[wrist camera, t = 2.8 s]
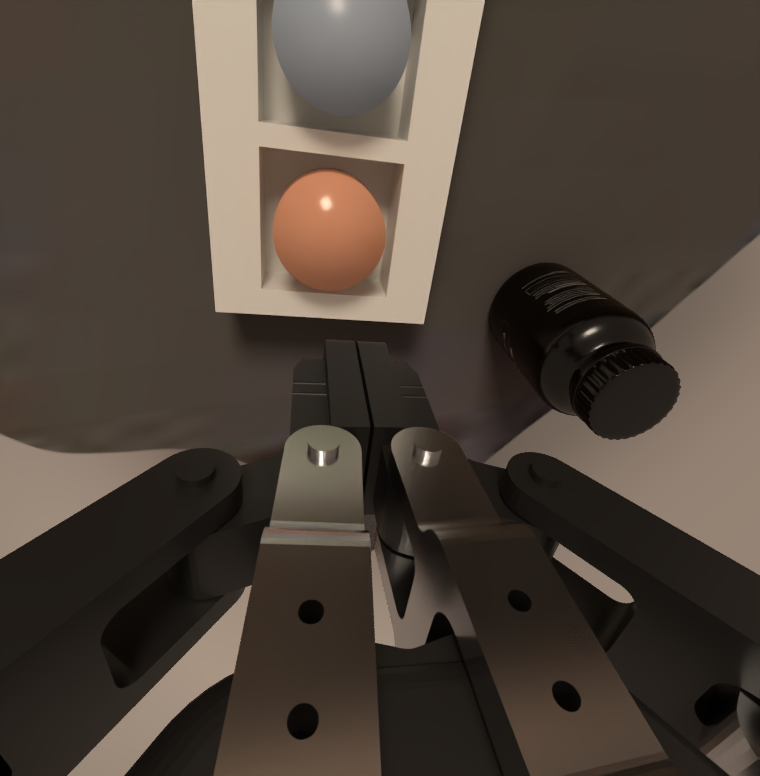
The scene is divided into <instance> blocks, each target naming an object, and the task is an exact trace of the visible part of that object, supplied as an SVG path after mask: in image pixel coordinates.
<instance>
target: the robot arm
mask: <svg viewBox="0 0 760 776" xmlns="http://www.w3.org/2000/svg"><path fill="white" fill-rule="evenodd" d="M364 514H375V517H376V523H377V527H376V533H375V539H374V548H375V552H376V556H377V561H378V565H379V569H380V574H381V578H382V582H383V586H384V590H385V595H386V599H387V604H388V608H389V612H390V617H391V621H392V625H393V631H394V638H395V647H393V646H388V645H383V644H378V643H375V631H374V610H373V590H372V589H373V588H372V568H371V546H370V535H369V531H368V530H364ZM559 543H560V544H561V545H563V546H564V547H566V548H567V549H569V550H570V551H572V552H573V553H575V554H576V555H577V556H579V557H580V558H582V559H583V560H585V561H586V562H588V563H589V564H591V565H592V566H594V567H595V568H596V569H598V570H600V571H601V572H602V573H604V574H605V575H607V576H608V577H610V578H611V579H612V580H614V581H615V582H617V583H618V584H620V585H621V586H622V587H624V588H625V589H626V590H627V591H628V592H629V593H630V594H631V596H632V597H633V599H634V602H632V603H621V602H618V601H615V600H613V599H612V598H610V597H609V596H607V595H606V594H604V593H603V592H601V591H600V590H599V589H597V588H596V587H594V586H593V585H591V584H590V583H589V582H587V581H586V580H584V579H583V578H582V577H580V576H579V575H577V574H576V573H575V572H573V571H572V570H570V569H569V568H567V567H566V566H565V565H563V564H562V563H560V562H559V561H558V560H556V559H555V558H553V555H554V553H555V551H556V549H557V547H558V545H559ZM250 585H252V587H251V592H250V597H249V601H248V607H247V612H246V616H245V621H244V627H243V632H242V636H241V642H240V646H239V651H238V656H237V661H236V666H235V671H234V673H233V674H232V675H229V676H227V677H225V678H224V679H222V680H221V681H219V682H218V683H216V684H214V685H213V686H211V687H210V688H208V689H207V690H205V691H204V692H203V693H202V694H200V695H199V696H198V697H197V698H195V699H194V700H193V701H191V702H190V703H189V704H188V705H187V706H186V707H185V708H184V709H183V710H182V711H181V712H180V713H179V714H178V715H177V716H176V717H174V719H172V720H171V722H170V723H169V724H168V725H167V726H166V727H165V728H164V729H163V731H162V732H161V733H160V734H159V735H158V736H157V738H156V739H155V740H154V741H153V742H152V743H151V745H150V746H149V747H148V748H147V749H146V751H145V752H144V753H143V754H142V755H141V757H140V758H139V759H138V760H137V761H136V763H135V764H134V765H133V766H132V767H131V769H130V770H129V771H128V772H127V773H126V774H125V776H760V575H758V574H756V573H755V572H753V571H751V570H749V569H748V568H746V567H744V566H742V565H741V564H739V563H737V562H736V561H734V560H732V559H730V558H729V557H727V556H725V555H723V554H722V553H720V552H718V551H716V550H715V549H713V548H711V547H709V546H708V545H706V544H704V543H703V542H701V541H699V540H697V539H696V538H694V537H692V536H690V535H688V534H687V533H685V532H683V531H682V530H680V529H678V528H676V527H675V526H673V525H671V524H669V523H668V522H666V521H664V520H663V519H661V518H659V517H657V516H656V515H654V514H652V513H650V512H649V511H647V510H645V509H643V508H642V507H640V506H638V505H636V504H635V503H633V502H631V501H629V500H628V499H626V498H624V497H622V496H621V495H619V494H617V493H616V492H614V491H612V490H610V489H609V488H607V487H605V486H603V485H602V484H600V483H598V482H596V481H595V480H593V479H591V478H590V477H588V476H586V475H584V474H582V473H581V472H579V471H577V470H576V469H574V468H572V467H570V466H569V465H567V464H565V463H563V462H561V461H560V460H558V459H556V458H553V457H551V456H548V455H545V454H541V453H534V452H525V453H520V454H517V455H515V456H513V457H512V458H511V459H510V461H509V462H508V465H507V467H506V469H504V468H499V467H495V466H491V465H487V464H483V463H479V462H475V461H472V460H470V459H467V457H466V455H465V454H464V452H463V450H462V448H461V446H460V445H459V444H458V442H457V441H456V440H455V439H453V438H452V437H451V436H449V435H447V434H446V433H444V432H441V431H440V430H439V427H438V425H437V422H436V420H435V417H434V414H433V412H432V409H431V407H430V404H429V402H428V399H427V398H426V394H425V391H424V389H423V388H422V384H421V381H420V378H419V376H418V373H416V372H415V371H414V370H413V369H412V368H411V367H410V366H409V365H408V364H406V363H405V362H392V361H391V357H390V354H389V351H388V348H387V345H386V343H385V342H366V341H356V344H355V341H345V340H325V344H324V357H323V359H312V358H303V359H302V360H301V361H300V362H299V363H298V364H297V366H296V367H295V368H294V373H293V390H292V408H291V426H290V437H289V438H288V439H287V441H286V444H285V447H284V448H283V449H282V450H281V451H279V452H278V453H277V454H275V455H273V456H272V457H270V458H267V459H265V460H262V461H258V462H255V463H250V464H246V465H241V466H240V465H239V463H238V461H237V460H236V459H235V458H234V457H233V456H231V455H230V454H228V453H226V452H224V451H220V450H217V449H210V448H198V449H191V450H186V451H182V452H179V453H177V454H174V455H172V456H170V457H169V458H167V459H165V460H163V461H162V462H160V463H158V464H157V465H155V466H154V467H152V468H150V469H148V470H147V471H145V472H143V473H142V474H140V475H139V476H137V477H135V478H134V479H132V480H130V481H129V482H127V483H125V484H124V485H122V486H120V487H119V488H117V489H115V490H114V491H112V492H110V493H109V494H107V495H106V496H104V497H102V498H101V499H99V500H97V501H96V502H94V503H92V504H91V505H89V506H87V507H86V508H84V509H83V510H81V511H79V512H77V513H76V514H74V515H73V516H71V517H69V518H68V519H66V520H64V521H63V522H61V523H59V524H58V525H56V526H54V527H53V528H51V529H49V530H48V531H46V532H45V533H43V534H41V535H40V536H38V537H36V538H35V539H33V540H31V541H30V542H28V543H26V544H25V545H23V546H22V547H20V548H18V549H17V550H15V551H13V552H12V553H10V554H8V555H7V556H5V557H3V558H2V559H0V776H67V775H68V774H69V773H70V772H71V771H72V770H73V769H74V768H75V767H76V766H77V765H78V764H79V763H80V762H81V760H83V758H84V757H85V756H86V755H87V754H88V753H89V752H90V751H91V750H92V749H93V748H94V747H95V746H96V745H97V744H98V743H99V742H100V741H101V740H102V739H103V738H104V737H105V736H106V735H107V734H108V733H109V732H110V731H111V730H112V729H113V728H114V727H115V726H116V724H118V723H119V721H121V719H122V718H123V717H124V716H125V715H126V714H127V713H128V712H129V711H130V710H131V709H132V708H133V707H134V706H135V705H136V704H137V703H138V702H139V701H140V700H141V699H142V698H143V697H144V696H145V695H146V694H147V693H148V692H149V691H150V690H151V689H152V688H153V687H154V686H155V685H156V683H158V682H159V681H160V679H161V678H162V677H163V676H164V675H165V674H166V673H167V672H168V671H169V670H170V669H171V668H172V667H173V666H174V665H175V664H176V663H177V662H178V661H179V660H180V659H181V658H182V657H183V656H184V655H185V654H186V653H187V652H188V651H189V650H190V649H191V648H192V647H193V646H194V645H195V644H196V642H198V640H199V639H200V638H201V637H202V636H203V635H204V634H205V633H206V632H207V631H208V630H209V629H210V628H211V627H212V626H213V625H214V624H215V623H216V622H217V621H218V620H219V619H220V618H221V617H222V616H223V615H224V614H225V613H226V612H227V611H228V610H229V609H230V608H231V607H232V606H233V605H234V603H236V601H237V600H238V599H239V598H240V596H241V595H242V593H243V592H244V589H245V587H247V586H250Z"/></svg>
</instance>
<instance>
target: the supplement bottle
mask: <svg viewBox="0 0 760 776" xmlns="http://www.w3.org/2000/svg"><path fill="white" fill-rule="evenodd" d="M490 325H491V329H492V332H493V334H494V336H495V338H496V339H497V341H498V342H499V344H500V345H501V346H502V348H503V349H504V350H505V352H506V353H507V354H508V356H509V357H510V358H511V359H512V361H513V362H514V363H515V365H516V366H517V367H518V369H519V370H520V371H521V373H522V374H523V375H524V376H525V378H526V379H527V380H528V382H529V383H530V384H531V386H532V387H533V388H534V390H535V391H536V392H537V393H538V395H539V396H540V397H541V398H542V400H543V401H544V402H545V403H546V404H547V405H548V406H550V407H551V408H552V409H554V410H556V411H558V412H561V413H564V414H567V415H572V416H578V417H579V418H580V419H581V420H582V421H584V422H585V423H586V425H587V426H588V427H589V428H590V429H591V430H592V431H593V432H594V433H595V434H597V435H598V436H601V437H602V438H608V439H610V440H612V439H616V440H619V439H627V438H629V437H635V436H636V435H638V434H641V433H644V432H645V431H647V430H649V429H651V428H652V427H653V426H654V425H656V424H658V423H659V422H660V421H661V420H662V419H663V418H664V417H666V416H667V414H668V412H670V411H671V410H672V408H673V405H674V404H675V403H676V402H677V397H678V396H679V390H680V388H681V386H680V379H679V378H678V373H677V372H676V371H675V370H674V368H673V367H672V366H671V365H670V364H669V363H667V362H666V361H665V360H663V358H662V357H661V356H660V355H659V353H657V352H656V346H655V339H654V336H653V333H652V331H651V329H650V327H649V326H648V324H647V323H646V322H645V321H644V320H643V319H642V318H641V317H640V316H638V315H637V314H636V313H634V312H633V311H632V310H630V309H629V308H627V307H626V306H624V305H623V304H621V303H620V302H618V301H617V300H615V299H614V298H612V297H611V296H610V295H608V294H607V293H605V292H604V291H602V290H601V289H599V288H598V287H596V286H595V285H593V284H592V283H591V282H589V281H588V280H586V279H585V278H583V277H582V276H580V275H579V274H577V273H576V272H574V271H572V270H571V269H569V268H568V267H565V266H563V265H560V264H556V263H538V264H534V265H531V266H528V267H526V268H524V269H522V270H520V271H518V272H517V273H515V274H514V275H512V276H511V277H510V278H509V279H508V280H507V281H506V282H505V283H504V284H503V285H502V286H501V288H500V289H499V291H498V292H497V294H496V296H495V298H494V300H493V303H492V306H491V311H490Z"/></svg>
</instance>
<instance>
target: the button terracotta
mask: <svg viewBox="0 0 760 776" xmlns="http://www.w3.org/2000/svg"><path fill="white" fill-rule="evenodd" d="M272 232H273V242H274V247H275V250H276V253H277V255H278V257H279V259H280V261H281V263H282V264H283V266H284V267H285V269H286V270H287V271H288V272H289V273H290V274H291V275H292V276H293V277H294V278H295V279H297V280H298V281H300V282H301V283H303V284H305V285H307V286H309V287H312V288H315V289H319V290H325V291H336V290H343V289H347V288H350V287H352V286H354V285H356V284H358V283H360V282H361V281H363V280H364V279H366V278H367V277H368V276H369V275H370V274H371V273H372V272H373V270H374V269H375V268H376V266H377V265H378V263H379V261H380V259H381V257H382V254H383V251H384V248H385V242H386V227H385V222H384V218H383V215H382V212H381V210H380V208H379V206H378V204H377V202H376V201H375V199H374V198H373V196H372V194H371V193H370V191H369V190H368V189H367V187H366V186H365V185H364V184H363V183H362V182H361V181H360V180H359V179H357V178H356V177H354V176H353V175H351V174H349V173H347V172H345V171H342V170H339V169H334V168H317V169H313V170H310V171H307V172H305V173H303V174H301V175H299V176H298V177H296V178H295V179H294V180H293V181H292V182H291V183H290V184H289V185H288V186H287V187H286V189H285V190H284V192H283V193H282V195H281V197H280V200H279V203H278V206H277V209H276V213H275V216H274V221H273V231H272Z"/></svg>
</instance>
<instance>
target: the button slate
mask: <svg viewBox="0 0 760 776" xmlns="http://www.w3.org/2000/svg"><path fill="white" fill-rule="evenodd" d="M272 36H273V42H274V47H275V51H276V55H277V58H278V61H279V63H280V66H281V69H282V70H283V72H284V74H285V76H286V78H287V80H288V81H289V83H290V84H291V86H292V87H293V88H294V89H295V91H296V92H297V93H298V94H299V95H300V96H301V97H302V98H303V99H304V100H305V101H306V102H308V103H309V104H310V105H312V106H313V107H315V108H317V109H319V110H321V111H323V112H326V113H328V114H332V115H337V116H355V115H359V114H363V113H365V112H368V111H370V110H372V109H373V108H375V107H377V106H378V105H380V104H381V103H382V102H383V101H385V100H386V98H387V97H388V96H389V95H390V94H391V93H392V92H393V90H394V89H395V88H396V86H397V84H398V83H399V81H400V79H401V77H402V75H403V73H404V70H405V68H406V64H407V61H408V57H409V52H410V45H411V21H410V13H409V9H408V5H407V1H406V0H274V4H273V11H272Z"/></svg>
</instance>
